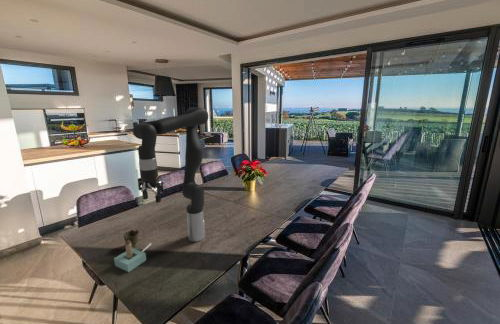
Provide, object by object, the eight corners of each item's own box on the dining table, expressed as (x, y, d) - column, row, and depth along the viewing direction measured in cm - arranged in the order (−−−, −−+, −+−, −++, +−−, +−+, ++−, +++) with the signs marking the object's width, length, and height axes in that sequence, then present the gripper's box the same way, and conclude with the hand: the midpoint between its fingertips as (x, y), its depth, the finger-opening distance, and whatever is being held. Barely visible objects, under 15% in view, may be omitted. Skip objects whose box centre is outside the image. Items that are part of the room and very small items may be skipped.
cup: (142, 243, 133) (141, 230, 131) (133, 250, 126) (132, 237, 124) (131, 241, 135) (129, 228, 133) (122, 248, 128) (120, 235, 126)
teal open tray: (133, 254, 123) (132, 247, 122) (146, 260, 119) (145, 253, 118) (114, 265, 114) (113, 258, 114) (128, 272, 110) (127, 264, 109)
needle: (131, 260, 118) (128, 238, 115) (134, 262, 117) (131, 240, 114) (126, 263, 116) (123, 241, 113) (130, 265, 115) (127, 242, 112)
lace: (150, 244, 132) (150, 243, 132) (151, 244, 132) (151, 243, 132) (138, 254, 123) (138, 253, 123) (139, 255, 123) (139, 254, 123)
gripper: (166, 167, 108) (168, 200, 112) (144, 164, 114) (148, 195, 118) (152, 171, 101) (156, 206, 105) (130, 167, 108) (134, 200, 111)
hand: (151, 200), depth 112 cm, fingers open, 8 cm apart
